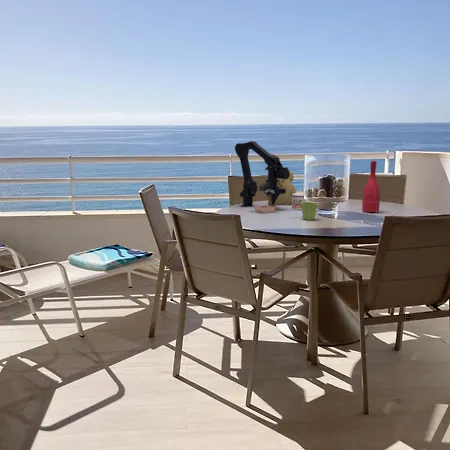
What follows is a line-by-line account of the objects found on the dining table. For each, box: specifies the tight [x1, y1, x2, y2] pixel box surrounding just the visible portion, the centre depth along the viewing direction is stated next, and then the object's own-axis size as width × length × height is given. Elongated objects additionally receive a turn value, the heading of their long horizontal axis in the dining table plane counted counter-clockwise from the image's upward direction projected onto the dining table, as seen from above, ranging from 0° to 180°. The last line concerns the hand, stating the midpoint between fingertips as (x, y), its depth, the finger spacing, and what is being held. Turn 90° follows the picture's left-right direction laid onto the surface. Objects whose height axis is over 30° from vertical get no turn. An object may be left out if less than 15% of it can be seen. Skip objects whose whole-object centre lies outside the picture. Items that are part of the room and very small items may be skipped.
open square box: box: [254, 204, 276, 214], centre depth 288 cm, size 8×8×3 cm
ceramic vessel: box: [272, 169, 297, 206], centre depth 324 cm, size 17×20×25 cm
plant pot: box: [301, 201, 319, 221], centre depth 272 cm, size 9×9×9 cm
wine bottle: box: [361, 160, 381, 213], centre depth 295 cm, size 10×10×30 cm
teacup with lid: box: [291, 189, 307, 211], centre depth 303 cm, size 12×9×12 cm
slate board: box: [248, 209, 278, 215], centre depth 289 cm, size 12×14×1 cm
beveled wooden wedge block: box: [267, 194, 277, 209], centre depth 300 cm, size 2×4×8 cm, turn 122°
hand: (271, 204), depth 300 cm, fingers closed on beveled wooden wedge block, 2 cm apart
